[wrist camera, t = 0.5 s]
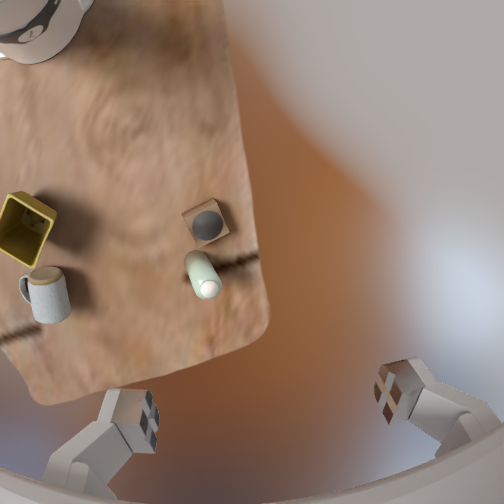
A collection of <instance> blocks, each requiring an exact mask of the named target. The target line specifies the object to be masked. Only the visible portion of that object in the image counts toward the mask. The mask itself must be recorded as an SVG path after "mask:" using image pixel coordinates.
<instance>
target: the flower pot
mask: <svg viewBox="0 0 504 504" xmlns="http://www.w3.org/2000/svg"><path fill="white" fill-rule="evenodd" d="M27 211H30V214H28V213H27ZM56 217H57V212H56V211H55V210H54V209H52V208H50V207H49V206H47V205H45V204H44V203H42V202H40V201H39V200H37V199H35V198H34V197H32V196H31V195H29V194H27V193H25V192H22V191H20V192H15V193H11V194H8V195H7V198H6V200H5V203H4V205H3V208H2V211H1V213H0V250H1V251H2V252H4V253H5V254H7V255H9V256H11V257H12V258H14V259H16V260H17V261H19V262H20V263H22V264H24V265H26V266H27V267H29V268H32V269H34V268H35V267H36V264H37V261H38V259H39V256H40V254H41V251H42V249H43V246H44V244H45V241H46V239H47V237H48V234H49V232H50V230H51V228H52V226H53V224H54V222H55V220H56ZM42 220H44V223H43V222H42ZM31 223H33V224H34V226H31Z"/></svg>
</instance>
